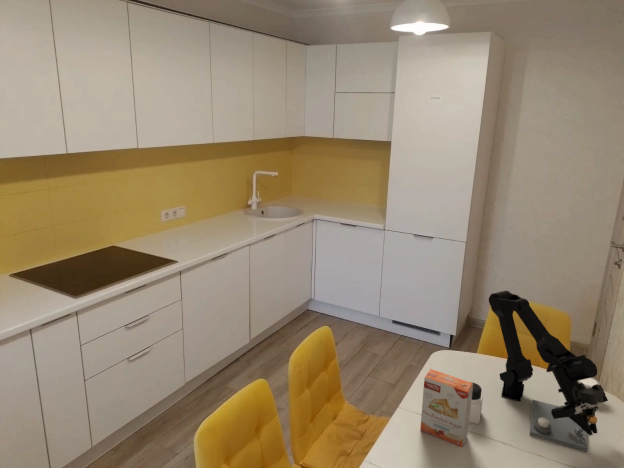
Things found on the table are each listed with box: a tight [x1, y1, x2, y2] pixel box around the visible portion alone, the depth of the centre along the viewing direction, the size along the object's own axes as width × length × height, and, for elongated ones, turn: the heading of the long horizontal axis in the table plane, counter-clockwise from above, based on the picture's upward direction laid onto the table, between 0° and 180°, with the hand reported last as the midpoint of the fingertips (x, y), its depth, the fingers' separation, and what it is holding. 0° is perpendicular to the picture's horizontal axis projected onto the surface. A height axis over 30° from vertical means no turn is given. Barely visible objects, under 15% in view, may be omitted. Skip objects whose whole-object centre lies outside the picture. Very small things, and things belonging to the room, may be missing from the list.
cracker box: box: [420, 368, 474, 448], centre depth 145 cm, size 14×6×21 cm, turn 56°
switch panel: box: [529, 399, 588, 453], centre depth 150 cm, size 16×18×3 cm
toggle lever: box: [575, 415, 598, 435], centre depth 140 cm, size 3×3×10 cm
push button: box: [538, 418, 549, 428], centre depth 147 cm, size 3×3×1 cm
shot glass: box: [578, 377, 600, 388], centre depth 164 cm, size 7×7×7 cm
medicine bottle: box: [469, 381, 484, 425], centre depth 154 cm, size 7×7×12 cm
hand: (593, 434), depth 138 cm, fingers closed, pressing on toggle lever
